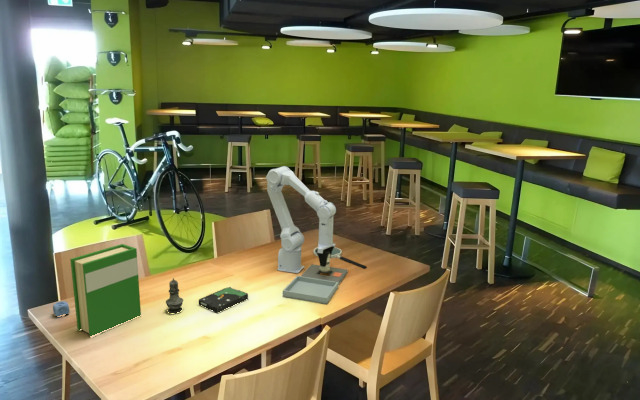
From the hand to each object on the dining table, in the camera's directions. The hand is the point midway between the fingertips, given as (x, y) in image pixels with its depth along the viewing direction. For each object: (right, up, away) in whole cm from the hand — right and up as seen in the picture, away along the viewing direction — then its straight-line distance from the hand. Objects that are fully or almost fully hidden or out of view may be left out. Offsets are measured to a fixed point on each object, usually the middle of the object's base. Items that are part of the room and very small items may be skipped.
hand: (324, 264), depth 195 cm
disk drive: (-37, -11, -24) cm, 45 cm away
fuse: (0, -2, +1) cm, 2 cm away
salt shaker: (-52, -12, -32) cm, 62 cm away
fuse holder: (0, -5, +1) cm, 5 cm away
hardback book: (-70, -14, -41) cm, 82 cm away
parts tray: (-5, -9, -14) cm, 18 cm away
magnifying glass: (+7, -1, +22) cm, 23 cm away
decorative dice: (-88, -12, -37) cm, 96 cm away
